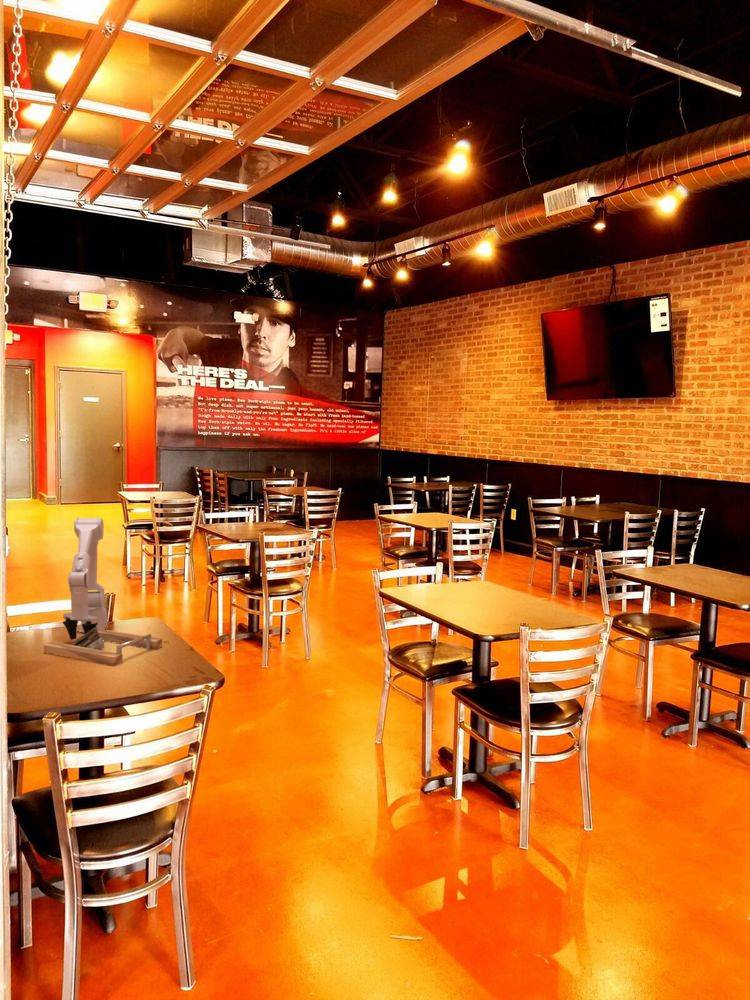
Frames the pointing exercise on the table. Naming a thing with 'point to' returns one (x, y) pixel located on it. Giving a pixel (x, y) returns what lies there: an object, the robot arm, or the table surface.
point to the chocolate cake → (90, 640)
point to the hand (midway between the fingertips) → (80, 640)
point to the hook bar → (148, 637)
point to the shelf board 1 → (84, 653)
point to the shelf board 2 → (127, 638)
